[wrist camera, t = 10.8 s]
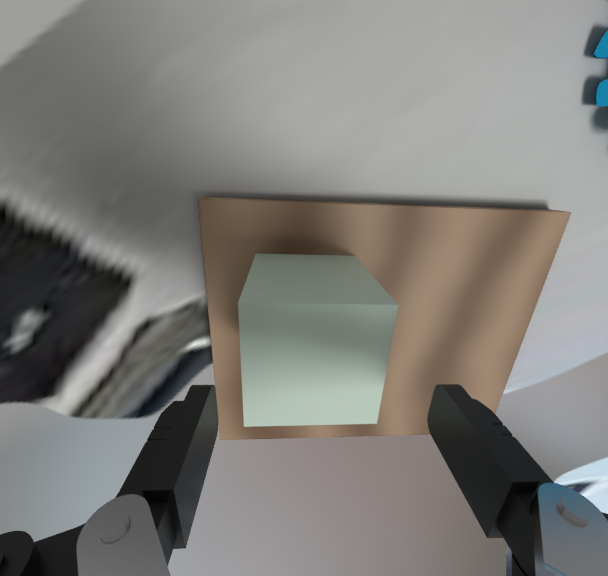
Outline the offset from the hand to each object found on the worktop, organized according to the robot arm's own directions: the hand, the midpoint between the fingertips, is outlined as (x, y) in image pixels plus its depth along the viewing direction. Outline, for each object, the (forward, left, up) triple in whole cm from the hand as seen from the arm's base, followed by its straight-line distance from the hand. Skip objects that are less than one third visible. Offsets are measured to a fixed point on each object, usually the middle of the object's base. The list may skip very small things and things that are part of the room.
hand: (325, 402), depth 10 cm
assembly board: (-5, +3, -10) cm, 11 cm away
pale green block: (0, 0, -9) cm, 9 cm away
